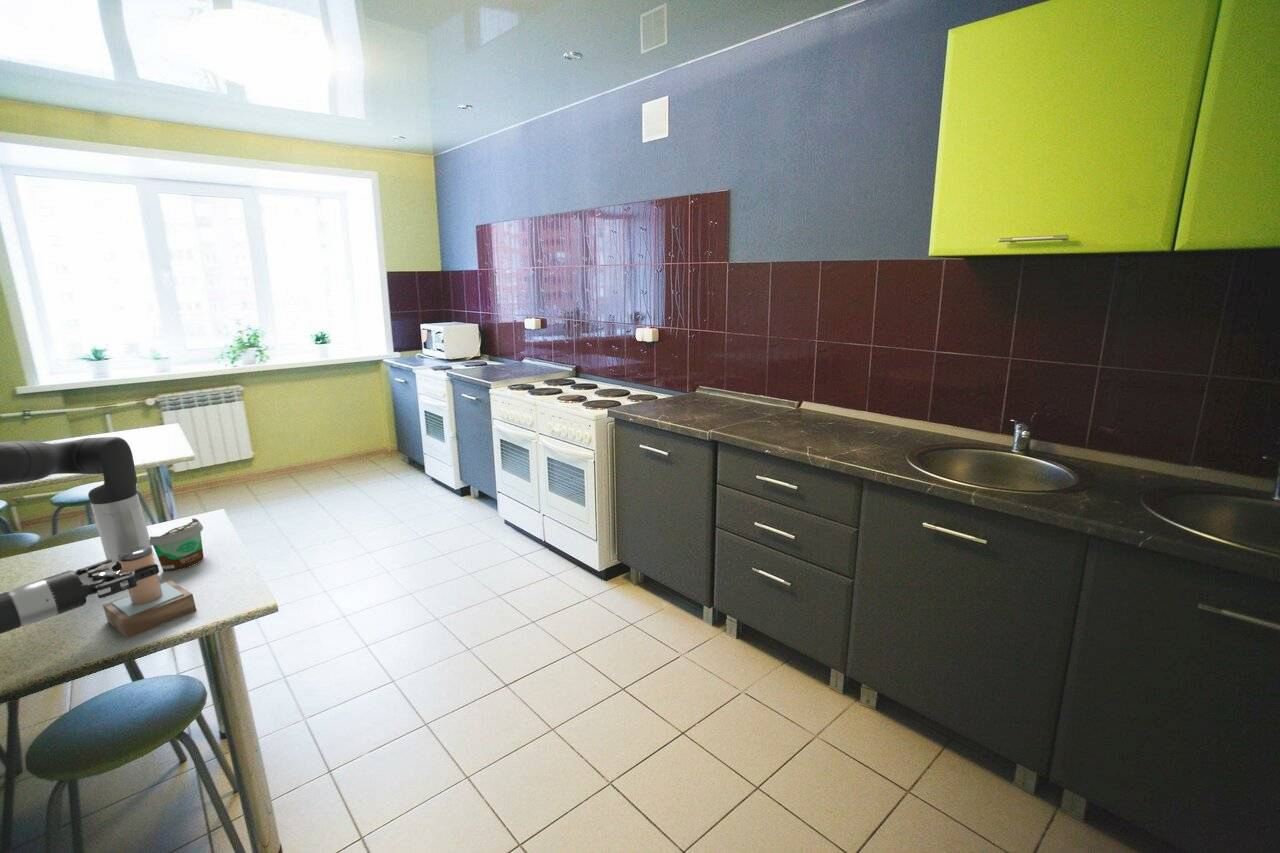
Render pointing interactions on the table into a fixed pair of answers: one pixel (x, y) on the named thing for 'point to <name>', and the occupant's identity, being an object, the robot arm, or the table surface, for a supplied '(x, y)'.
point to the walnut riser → (149, 610)
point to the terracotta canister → (145, 587)
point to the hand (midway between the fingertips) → (150, 562)
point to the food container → (179, 546)
